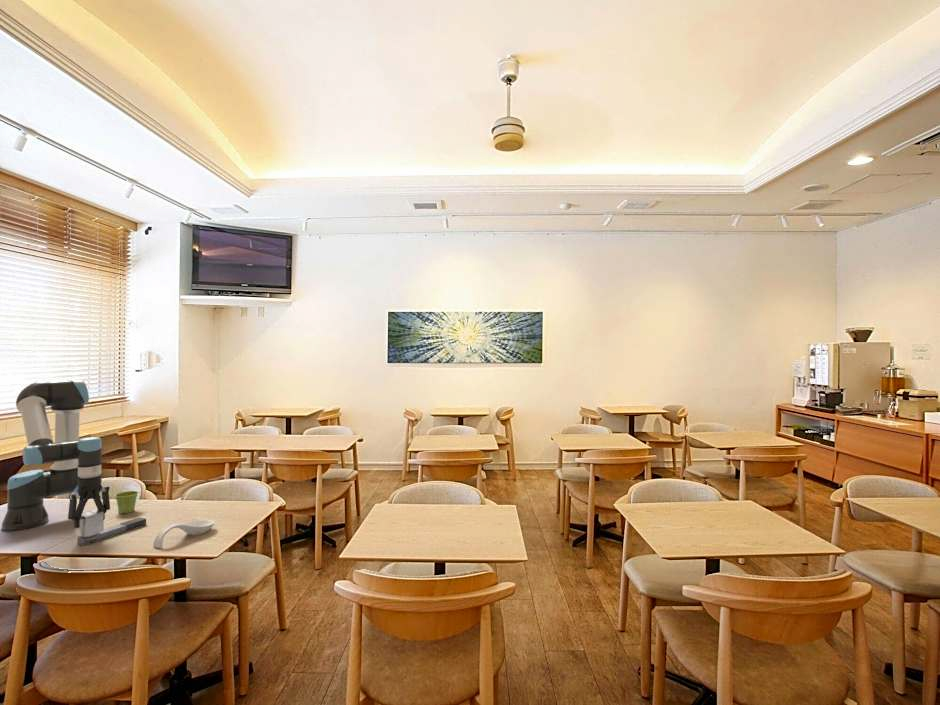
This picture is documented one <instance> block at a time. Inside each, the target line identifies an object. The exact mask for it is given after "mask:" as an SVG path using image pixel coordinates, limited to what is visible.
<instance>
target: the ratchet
mask: <svg viewBox="0 0 940 705" xmlns="http://www.w3.org/2000/svg"><path fill="white" fill-rule="evenodd" d="M143 526H147V518H144V517H140V516H139V517H135V518H133V519H129V520H126V521H123V522H120V523H119V524H115V525H112V526H109V527H107V528H104V531H102V532H99V533H96V534H93V535H90V536H87V537H84V536H78V537H77V544H78V545H82V546H87V545H91V544H94V543H96V542H99V541H103V540H105V539H107V538H111V537H113V536H116V535H119V534H122V533H126V532H129V531H131V530H134V529H138V528H140V527H143Z"/></svg>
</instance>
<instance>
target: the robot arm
mask: <svg viewBox="0 0 940 705" xmlns="http://www.w3.org/2000/svg"><path fill="white" fill-rule="evenodd" d="M89 400H90V395H89V391H88V386H87V384H86V383H85V381H83V380H81V379H62V380H61V379H59V380H40V381H36V382H33V383H31V384H29V385H27V386H25V387H24V388H23V389H22V390H21V391H20V393H19V394H18V396H17V397H16V400H15V407H16V410H17V411H18V412H19V413H20V414H21V419H22V423H23V427H24V431H25V433H24V434H25V438H26V442H27V446H25V447H24V448H23V449H22V462H23V464H24V465H25V466H35V465H36V466H37V465H43V464H50V463H53V464H51V466H49V471H44V470H43V469H33V470H31V469H30V470H28V471H23V472H19V473H17V474H14V475H12V476H10V477H9V479H8V480H7V487H6V490H7V507H6V509H7V511H6V513H5V515H4V517H3V521H2V523H1V530H2V531H8V532H11V531H21V530H27V529H31V528H35V527H38V526H41V525H44V524H47V523H48V522H49V513H48V512H47V509H46V508H45V507H46V506H45V505H44V499H46V498H51V497H58V496H63V495H68V494H69V495H68V499H69V504H68V505H69V506H68V514H67V519H68V520H71V521H73V528H74V529H75V535H76V536H78V537H81V536H83V519H80V518H81V515H82V513H84V510H85V506H86V504H87V502H88V501H89V500H91V499H93V502H94V504H95V507H96V508H97V510H98V511H103V512H104V520H106V517H105V516H106V513H107V512H108V511H110V510H111V504H110V494H109V491H110V486H108V485H103V486H102V481H103V480H102V475H101V474H102V447H103V443H102V438H100V436H99V437H98V436H97V437H96V436H90V437H88V436H87V437H83V438H80V412H82V410H83V409H85V407H84V406H85V405H87V404H88V403H89V402H90V401H89ZM46 407H50V410H51V411H52V412H54V414H55V417H54V420H55V421H54V422H55V423H54V425H55V426H54V440H53V436H52V432H51V427H50V423H49V419H48V415H47V411H46ZM100 493H101V495H100ZM101 497H102V499H101ZM77 503H78V504H77Z"/></svg>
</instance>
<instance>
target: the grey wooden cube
mask: <svg viewBox="0 0 940 705" xmlns="http://www.w3.org/2000/svg"><path fill="white" fill-rule="evenodd" d="M80 519H83V536H84V537H87V536H90V535H93V534H96V533H99V532H102V531H104V529H105V528H104V523H105V522H104V521H105V519H104V512H103V511H98V509H97V510H96V509H92V510H88V511H83V513H82V515H81V518H80Z"/></svg>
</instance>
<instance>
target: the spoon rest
mask: <svg viewBox="0 0 940 705" xmlns="http://www.w3.org/2000/svg"><path fill="white" fill-rule="evenodd" d="M214 524H215V522H214V520H208V519H207V520H206V519H205V520H204V519H203V520H202V519H201V520H199V519H198V520H193V521H187V522H181V523H180V522H179V523H177V522H176V523H170V524H168V525H166V526H165V527H163V528H162V529H161V530H160V531H159V532H158V534H156V536H155V538H154V541H153V544H152V546H153V548H157V549H162V548H163V542H164V537H165V536H166V535H167V533H169V532H170V531H172V530H173V529H180V530H182V532H184V533H185V534H188V535H190V536H199V535H202V534H205V533H206V532H208V531H209V530H210V529H212V527H213V526H214Z"/></svg>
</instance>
